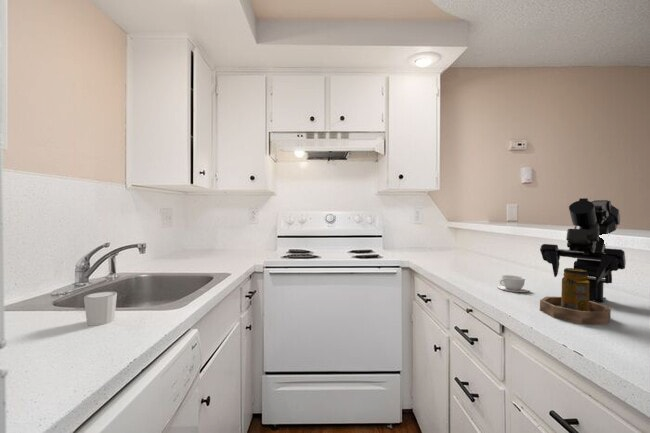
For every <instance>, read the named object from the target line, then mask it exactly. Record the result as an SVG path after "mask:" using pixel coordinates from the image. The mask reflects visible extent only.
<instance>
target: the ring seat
mask: <svg viewBox="0 0 650 433" xmlns="http://www.w3.org/2000/svg"><path fill="white" fill-rule="evenodd" d="M558 306H561V296H545V297H542V299H539V311H540V312H543V313H544V314H546V315H548V316H550V317H551V318H556V319H558V320H564V321H568V322H572V323H577V324H581V325H582V324H583V325H604V326H605V325H608V324H609V322H610V321H611V317H612V316H611V315H612V314H611V313H612V312H611V311H612V308H611V307H608V306H607V305H604V304H600V303H599V302H596V301H590V300H589V311H578V310H573V309H568V308H563V307H558Z"/></svg>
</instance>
